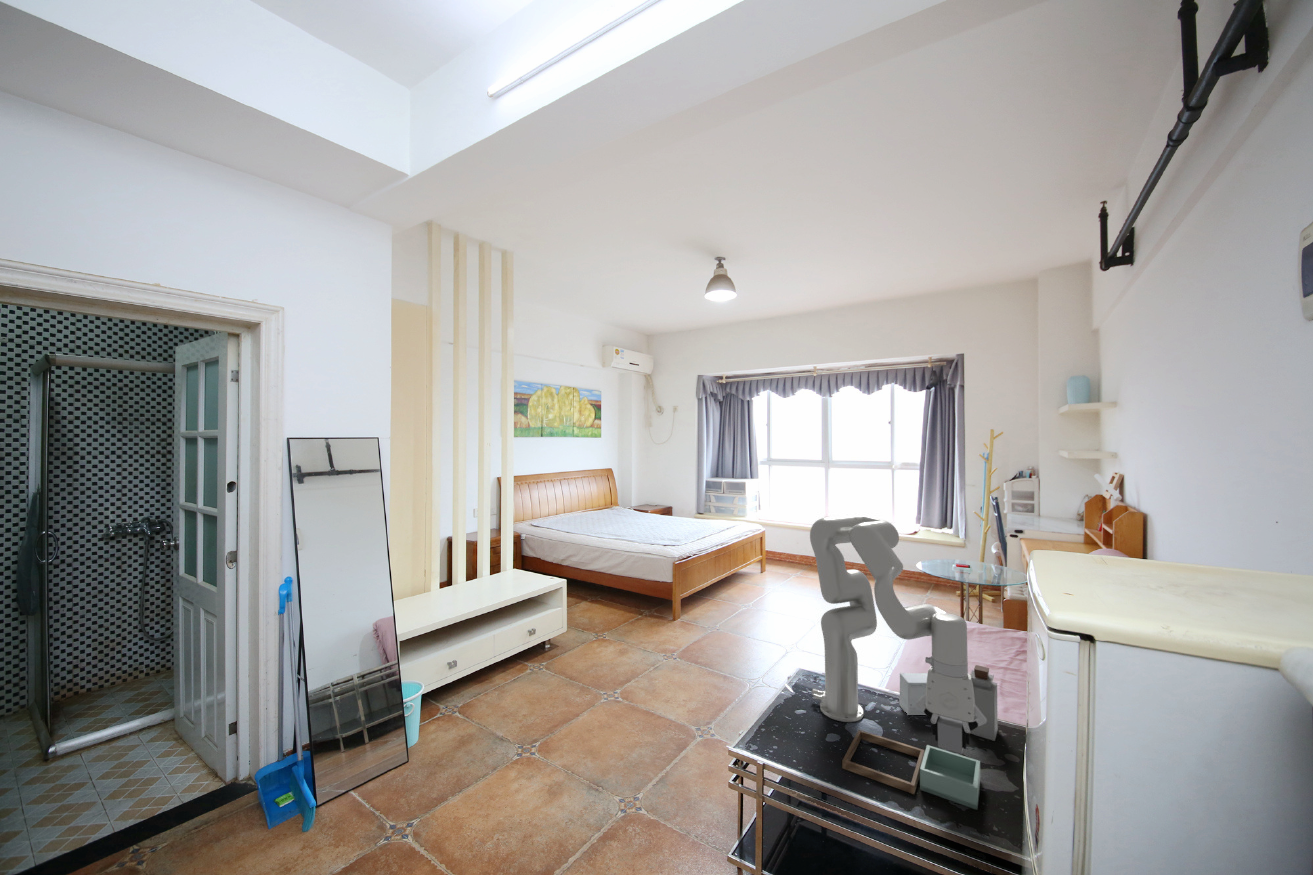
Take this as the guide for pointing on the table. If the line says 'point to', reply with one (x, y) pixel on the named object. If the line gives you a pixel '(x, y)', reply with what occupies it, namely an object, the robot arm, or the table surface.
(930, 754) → the sage green bin
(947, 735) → the stone block
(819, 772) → the table surface
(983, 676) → the perfume bottle
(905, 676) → the skincare box
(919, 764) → the brown wooden frame
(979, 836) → the table surface
